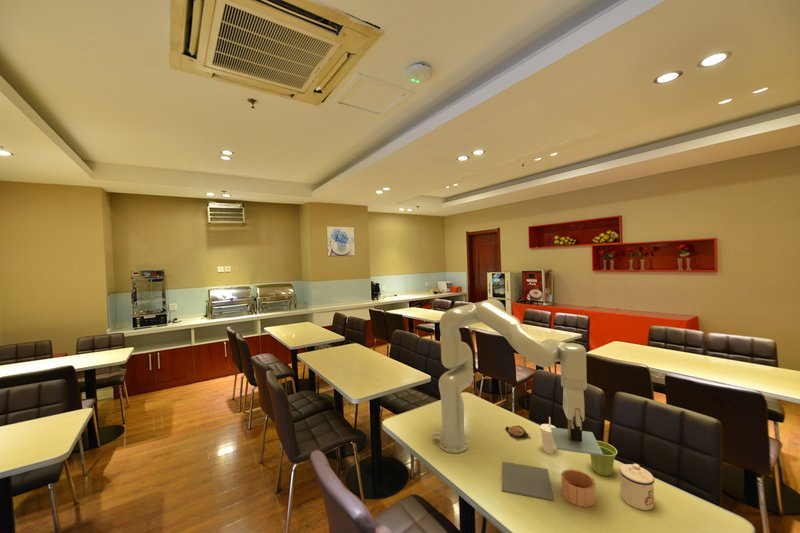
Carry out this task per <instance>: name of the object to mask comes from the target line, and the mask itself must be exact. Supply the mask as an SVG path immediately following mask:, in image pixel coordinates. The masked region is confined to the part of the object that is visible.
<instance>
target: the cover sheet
mask: <svg viewBox="0 0 800 533" xmlns="http://www.w3.org/2000/svg"><path fill="white" fill-rule="evenodd" d="M574 423H576V421H574ZM581 426H582V422H581ZM571 427H572V426H571V420H568V419H567V428H560V427H556V428H553V427H551V431H552V435H553V439H554V442H555V449H556V450H557V451H566V452H572V453H579V454H586V455H590V454H592V455H600V456H603V453H602V451H601V449H600V447H599V445H598V443H597V441H598V440H597V439H596V437H595V435H594V433H593V431H586V430H582V441H581V442H580V441H572V440H571Z"/></svg>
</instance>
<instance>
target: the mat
mask: <svg viewBox="0 0 800 533" xmlns="http://www.w3.org/2000/svg"><path fill="white" fill-rule="evenodd" d="M501 465H502V466H501V468H502V470H501V471H502V473H501V475H502V476H501V480H502V481H501V485H502V486H501V492H503V493H509V494H513V495H518V496H524V497H529V498H534V499H539V500H546V501H549V502H550V501H551V502H555V499H554V494H553V489H552V485H551V483H552V482H551V479H550V474H549V470H548V468H544V467H538V466H532V465H525V464H520V463H519V464H518V463H513V462H509V461H502V464H501Z"/></svg>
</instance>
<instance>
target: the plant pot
mask: <svg viewBox="0 0 800 533" xmlns="http://www.w3.org/2000/svg"><path fill="white" fill-rule="evenodd" d="M596 441H597V443H598V445H599V447H600V449H601V451H602V453H603V456H600V455H592V454H589V456H590V460H591V468H592V470H593V472H595V473H596V474H598V475H600V476H604V477H608V476H612V474H613V469H614V464H615V463H614V462H615V458H616V456H617V455H618V450H617V448H616V447H614V446H613V445H612V444H609V443H607V442H606V441H605V442H604V441H602V440H596Z"/></svg>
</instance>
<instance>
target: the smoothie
mask: <svg viewBox="0 0 800 533" xmlns="http://www.w3.org/2000/svg"><path fill="white" fill-rule="evenodd" d="M551 420H552V419H551V417H550V416H548V423H542V424H539V429H540V432H541V439H542V445H543V446H542V447H543V451H544V453H546V454H549V455H553V454H554V453H555V452H554V451H555V448H556V446H555V442H554V439H553V435H552V431H551V427H553V428H557V427H556V426H555V425H553V424H551Z"/></svg>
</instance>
